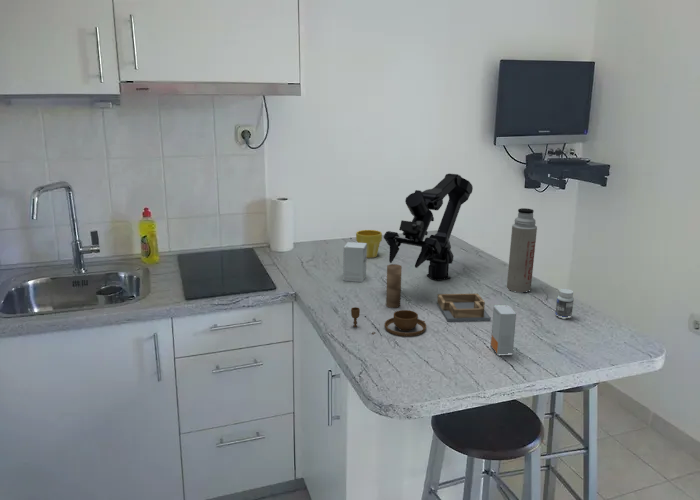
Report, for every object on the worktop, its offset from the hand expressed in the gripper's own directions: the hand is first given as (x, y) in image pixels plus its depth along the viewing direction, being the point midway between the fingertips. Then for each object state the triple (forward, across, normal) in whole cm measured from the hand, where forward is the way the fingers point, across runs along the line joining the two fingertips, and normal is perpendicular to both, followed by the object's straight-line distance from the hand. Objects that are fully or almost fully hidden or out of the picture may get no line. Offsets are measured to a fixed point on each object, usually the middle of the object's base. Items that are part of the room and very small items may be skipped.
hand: (402, 264), depth 186 cm
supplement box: (+2, -24, +16) cm, 29 cm away
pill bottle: (-2, +47, +20) cm, 51 cm away
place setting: (+23, +8, -4) cm, 24 cm away
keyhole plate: (+7, +20, +10) cm, 24 cm away
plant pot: (-18, -35, +35) cm, 53 cm away
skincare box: (+22, +40, -4) cm, 45 cm away
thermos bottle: (-14, +28, +32) cm, 45 cm away
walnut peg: (+12, 0, +5) cm, 13 cm away
